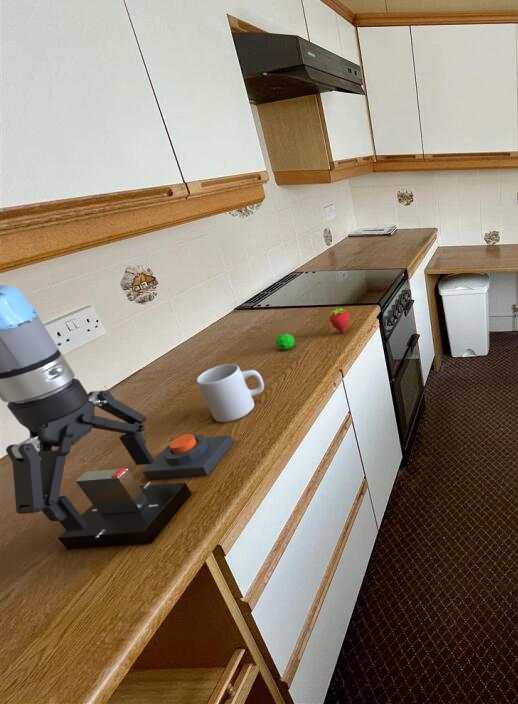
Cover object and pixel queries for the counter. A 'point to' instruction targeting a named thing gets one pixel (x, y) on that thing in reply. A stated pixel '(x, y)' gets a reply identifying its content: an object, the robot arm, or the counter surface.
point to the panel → (129, 520)
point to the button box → (189, 459)
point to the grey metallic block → (113, 491)
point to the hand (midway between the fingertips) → (114, 493)
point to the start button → (183, 444)
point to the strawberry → (339, 319)
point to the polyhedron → (285, 341)
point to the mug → (228, 391)
